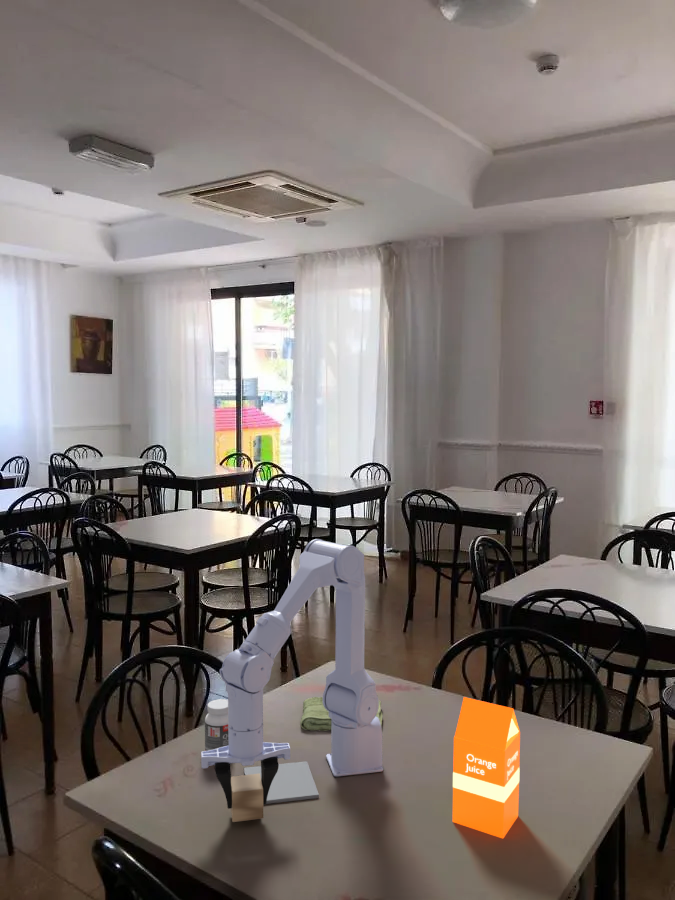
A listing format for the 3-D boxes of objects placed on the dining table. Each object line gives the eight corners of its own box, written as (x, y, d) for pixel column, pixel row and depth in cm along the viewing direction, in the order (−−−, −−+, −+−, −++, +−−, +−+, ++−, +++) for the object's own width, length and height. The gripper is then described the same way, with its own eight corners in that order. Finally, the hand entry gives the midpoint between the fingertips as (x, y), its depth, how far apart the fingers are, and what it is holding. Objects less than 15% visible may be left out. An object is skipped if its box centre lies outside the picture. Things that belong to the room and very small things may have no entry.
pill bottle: (228, 761, 142) (228, 711, 141) (200, 758, 143) (200, 708, 143) (238, 747, 148) (238, 699, 147) (211, 744, 149) (210, 696, 148)
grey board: (307, 764, 141) (306, 761, 141) (318, 797, 130) (318, 794, 130) (243, 770, 139) (243, 767, 139) (250, 805, 127) (250, 802, 127)
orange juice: (503, 839, 118) (505, 717, 116) (451, 822, 122) (453, 704, 121) (519, 815, 124) (521, 700, 123) (469, 800, 129) (471, 688, 127)
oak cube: (260, 801, 126) (259, 773, 125) (263, 818, 121) (263, 788, 121) (230, 805, 125) (230, 776, 124) (232, 822, 120) (232, 792, 119)
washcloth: (383, 734, 155) (384, 719, 154) (299, 733, 155) (299, 718, 155) (381, 707, 168) (381, 693, 167) (303, 707, 168) (303, 693, 168)
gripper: (201, 739, 116) (202, 822, 117) (293, 730, 119) (293, 811, 120) (200, 720, 123) (201, 798, 124) (286, 712, 126) (287, 788, 127)
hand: (246, 803), depth 123 cm, fingers closed on oak cube, 5 cm apart
